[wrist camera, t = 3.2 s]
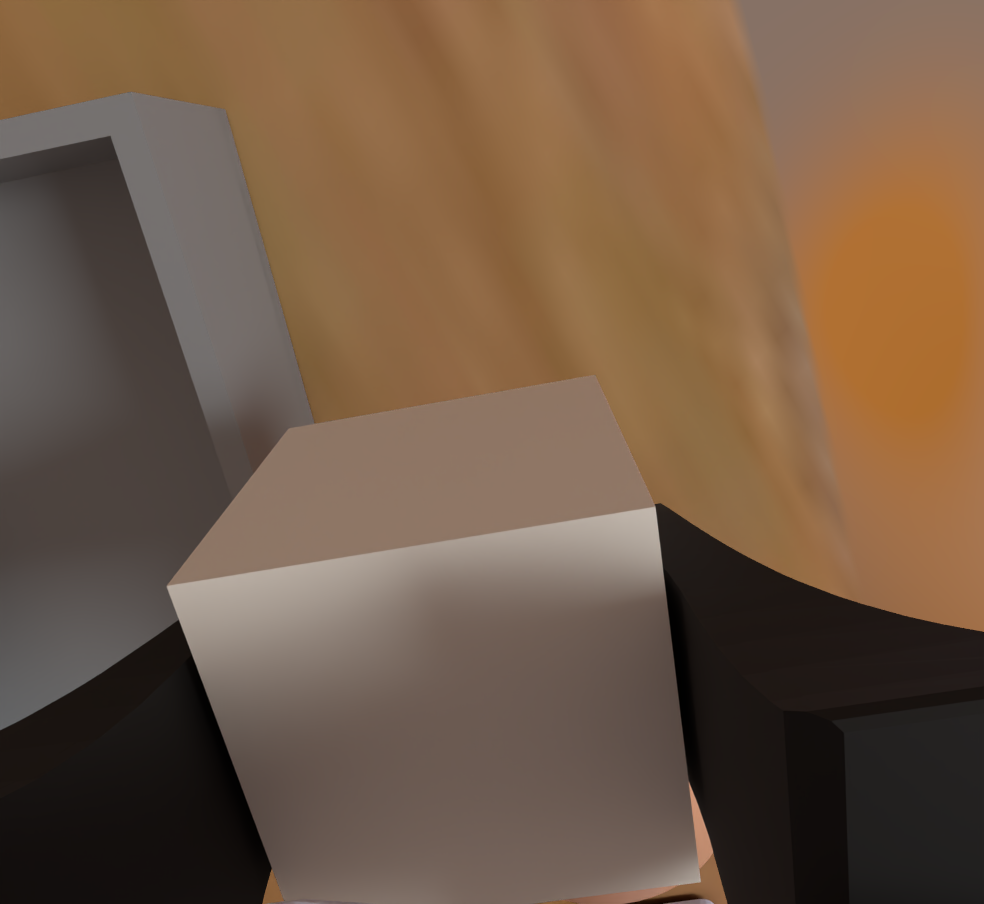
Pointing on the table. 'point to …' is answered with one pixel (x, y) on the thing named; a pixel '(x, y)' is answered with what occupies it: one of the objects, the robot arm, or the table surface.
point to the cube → (449, 656)
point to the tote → (123, 375)
